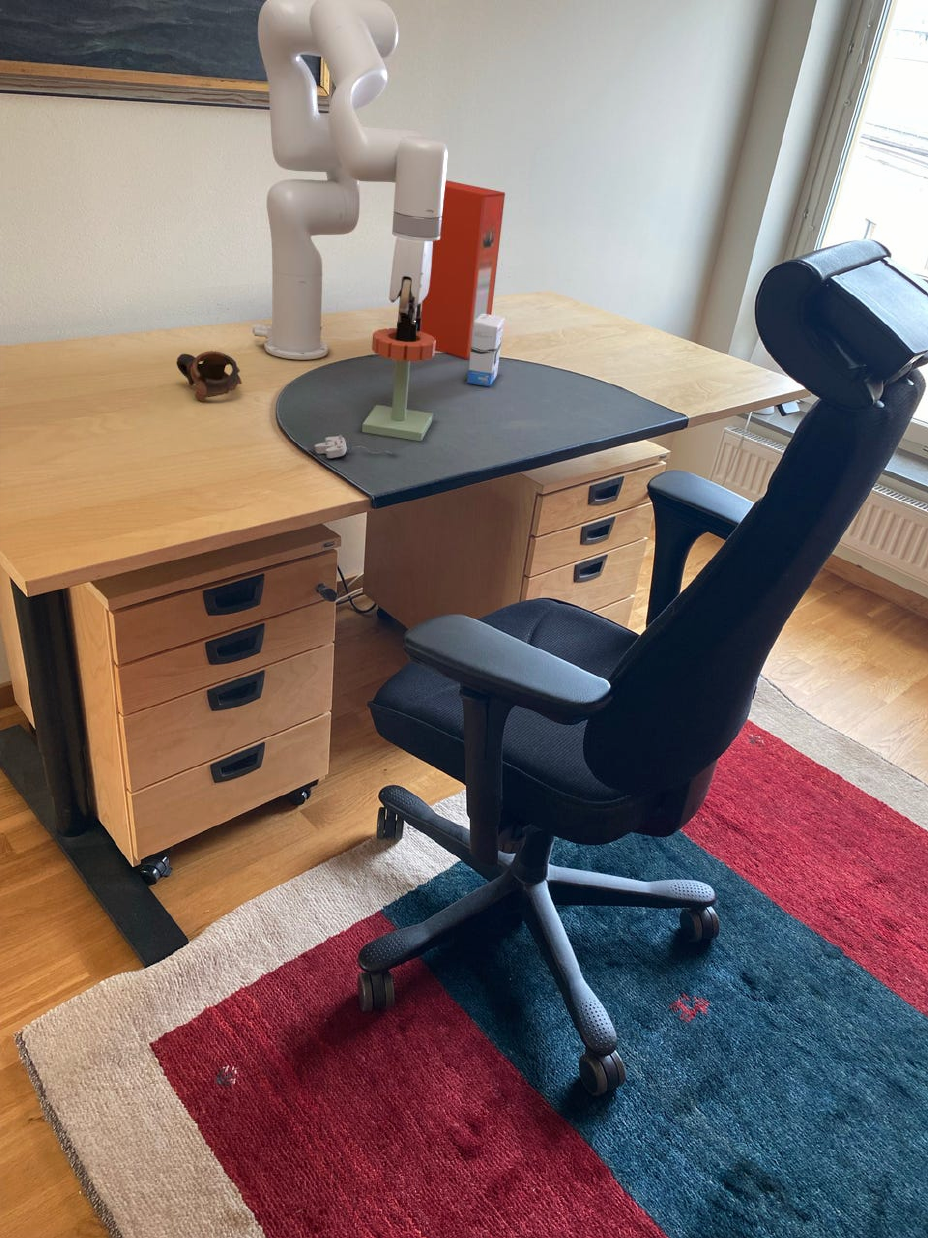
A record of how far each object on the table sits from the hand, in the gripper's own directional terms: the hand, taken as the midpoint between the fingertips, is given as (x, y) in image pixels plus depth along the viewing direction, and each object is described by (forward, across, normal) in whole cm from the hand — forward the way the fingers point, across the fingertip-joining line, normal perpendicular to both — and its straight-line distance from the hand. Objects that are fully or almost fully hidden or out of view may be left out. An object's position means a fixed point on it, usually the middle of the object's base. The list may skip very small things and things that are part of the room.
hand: (407, 342), depth 156 cm
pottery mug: (+13, +2, -34) cm, 36 cm away
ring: (0, +4, 0) cm, 4 cm away
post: (+13, +4, 0) cm, 14 cm away
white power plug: (+13, +19, -4) cm, 23 cm away
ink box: (+13, -29, +10) cm, 34 cm away
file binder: (+14, -48, -1) cm, 50 cm away
